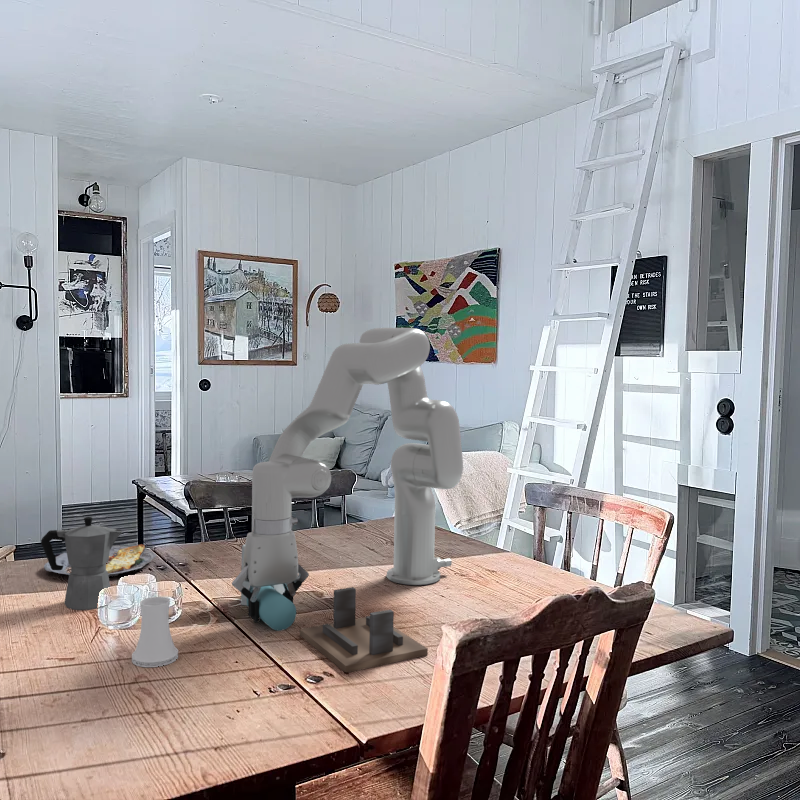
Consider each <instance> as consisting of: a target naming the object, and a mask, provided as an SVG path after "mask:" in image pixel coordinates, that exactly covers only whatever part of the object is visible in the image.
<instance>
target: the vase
mask: <svg viewBox="0 0 800 800" xmlns="http://www.w3.org/2000/svg"><path fill="white" fill-rule="evenodd" d="M170 602H171V600H170V598H168V597H165V596H153V597H151V596H150V597H147V598H144V599H141V600H140V602H139V603H140V605H139V606H140V613H141V625H140V633H139V638H138V641H137V644H136V648H135V650H134V651H133V652H132V654H131V663H132V664H133V665H135V666H137V667H141V668H157V667H158V666H159V667H163V665H164V666H167V665H170V664H172V663H174V662H176V661H177V660H178V658H179V649H178V648H177V647H176V646H175V644H174V641H173V638H172V633H171V630H170V622H169V621H170V620H169V619H170V617H169V610H170ZM176 659H177V660H176Z"/></svg>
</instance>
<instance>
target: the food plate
mask: <svg viewBox="0 0 800 800" xmlns="http://www.w3.org/2000/svg"><path fill="white" fill-rule="evenodd" d="M145 546H146V545H145V544H142V543H141V544H137V545H133V546H132V545H131V546H129V545H128V546H127V545H113V546H112V547H111V549H110V553H109V560H108V561H110V562H109V563H108V562H107V563H108V564H106V571H107V572H108V577H113V576H114V577H117V576H119V575H122V574H123V573H128V572H130V571H131V572H132V571H134V570H135V571H136V570H138V569H142V568H143V567H144V566H146V565H147V564H149V563H151V561H152V560H154V559H155V558H156V557H157V554H156V553H155V552H154V551H151V550H149V549H148V548H146V547H145ZM130 550H133V551H130ZM114 552H117V553H114ZM113 554H116V555H113ZM55 557H56V564H57V565H61V566H62V565H63V569H62V570H52V569H51V566H50V564H49V561H47V562H46V563H44V566H43V569H44V570H45V571H46V572H53V573H56V574H57V573H58V574H59V575H60V574H61V575H66V576H69V575H70V573H71V572H70V573H69V572H68V569H69V568H71V565H70V564H69V563H68V557H67V552H66V553H65V552H64V553H63V552H62V553H61V554H59V555H57V556H55ZM114 577H113V578H114Z"/></svg>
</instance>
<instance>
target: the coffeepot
mask: <svg viewBox="0 0 800 800" xmlns="http://www.w3.org/2000/svg"><path fill="white" fill-rule="evenodd" d="M83 520H84V525H82V526H77V527H73V528H70V529H58V530H57V529H53V530H52V529H51V530H48V532H46V533H45V535H44V536H43V537H42V538H41V540H40V543H41V547H42V549H43V551H44V554H45V557H46V558H47V562H49V564H50V566H51V569H52V570H62V569H63V565H62V566H61V565H57V564H56V557H57V556H56V555H55V553H54V549H53V545H52V543H51V541H53V540H58V541H64V544H65V550H66V551H65V552H66V553H67V557H68V563H69V564H70V565H71V567H70V575H69V574H68V580H67V586H66V591H65V598H64V606H65V607H66V608H68V609H69V610H74V611H92V610H97V609H98V608H97V603H98V596H99V592H100V591H101V590H102V589H104V588H108V587H111V583H110V578H109V577H108V572H107V571H106V563H108V560H109V553H110V549H111V547H112V546H114V545H115V542H116V541H117V539H118V538H119V536H120V535H122V534H123V531H122V530H121V529H118V528H110V527H108V526H102V525H93V524H92V522H93V516H86V517H84V518H83Z"/></svg>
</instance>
